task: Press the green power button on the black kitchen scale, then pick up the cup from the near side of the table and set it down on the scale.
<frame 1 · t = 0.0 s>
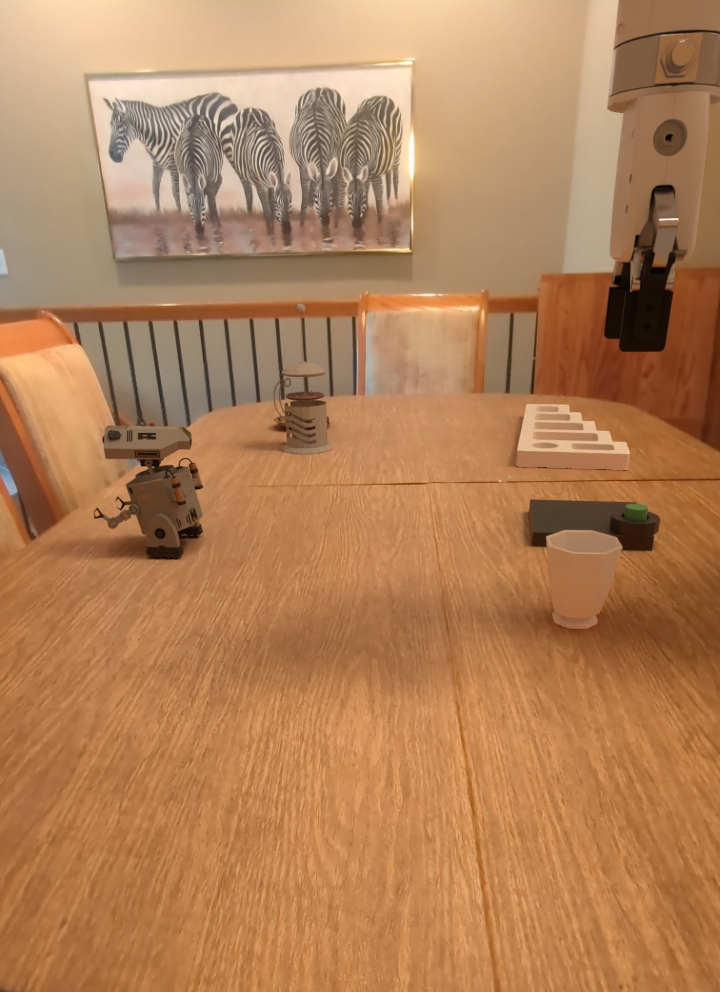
hand: (631, 344, 60), 25 cm above the table, tool pointing down, fingers open, 9 cm apart
cup: (578, 615, 75), on the table
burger: (302, 428, 161), on the table
scale: (585, 530, 97), on the table
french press: (303, 448, 143), on the table
scale button: (635, 512, 90), point 4 cm above the table, slide at 0.1 cm
holder: (569, 440, 144), on the table
figurine: (160, 548, 95), on the table
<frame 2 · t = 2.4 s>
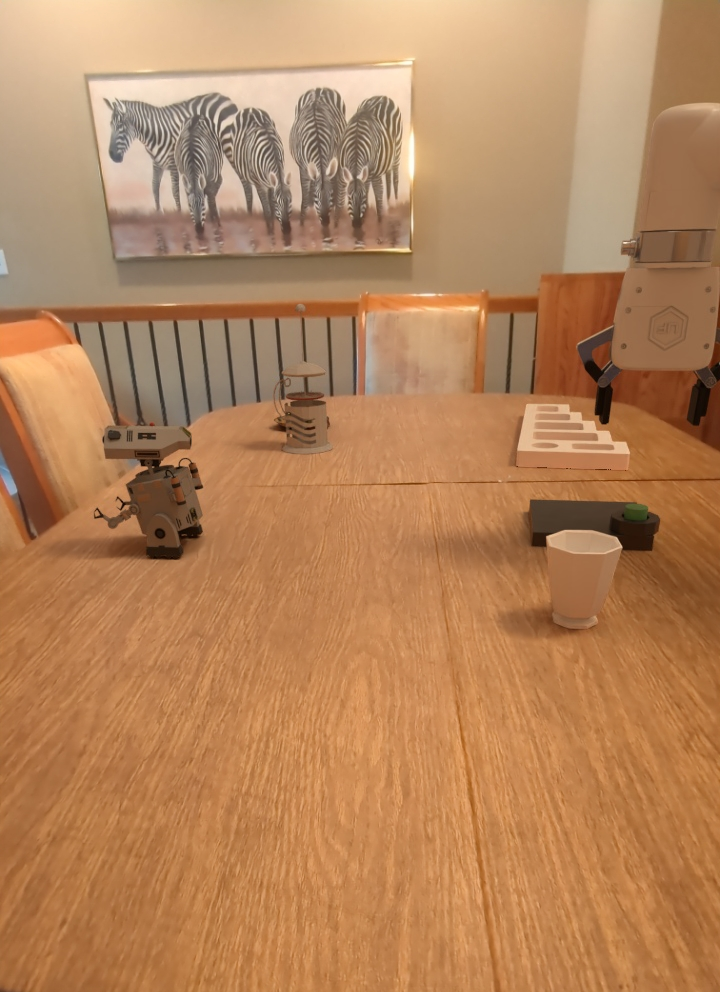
hand: (647, 422, 85), 15 cm above the table, tool pointing down, fingers open, 9 cm apart
nothing on the table moved.
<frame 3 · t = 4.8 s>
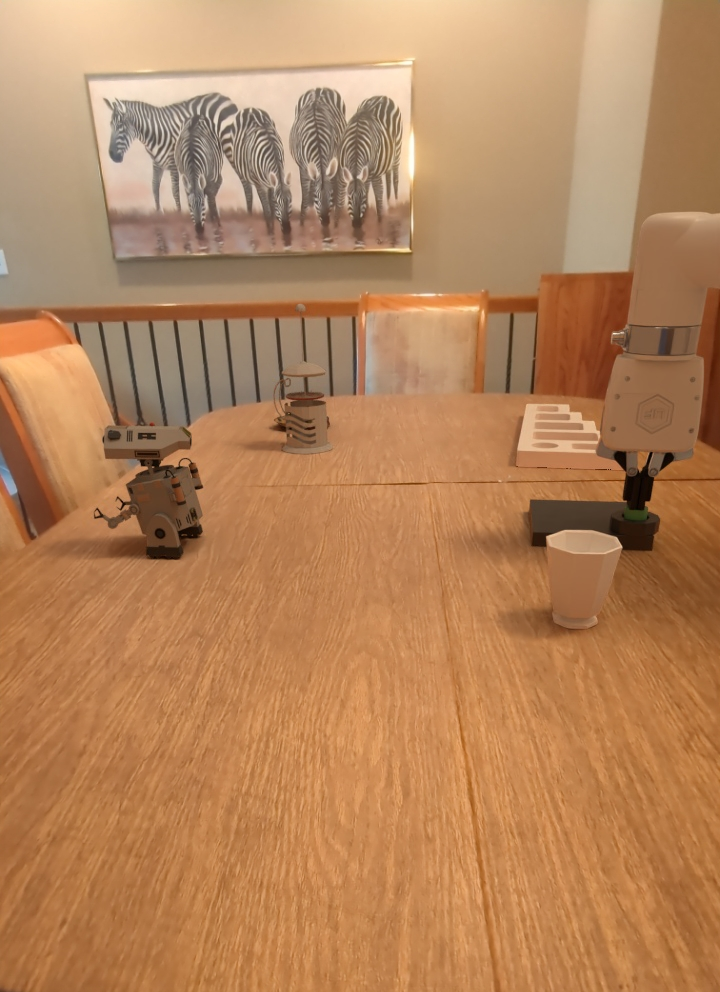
hand: (635, 506, 90), 5 cm above the table, tool pointing down, fingers closed
scale button: (635, 513, 90), point 4 cm above the table, slide at 0.1 cm, touching gripper
everything else where it was.
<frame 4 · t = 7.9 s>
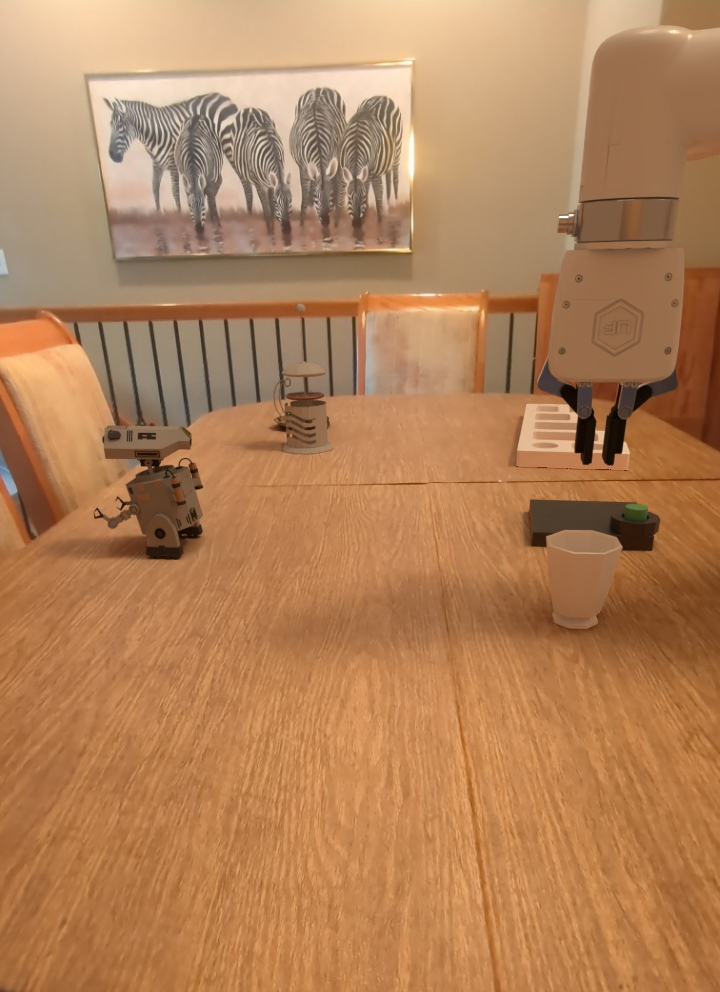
hand: (596, 460, 68), 15 cm above the table, tool pointing down, fingers closed
scale button: (635, 513, 90), point 4 cm above the table, slide at 0.1 cm
everything else where it was.
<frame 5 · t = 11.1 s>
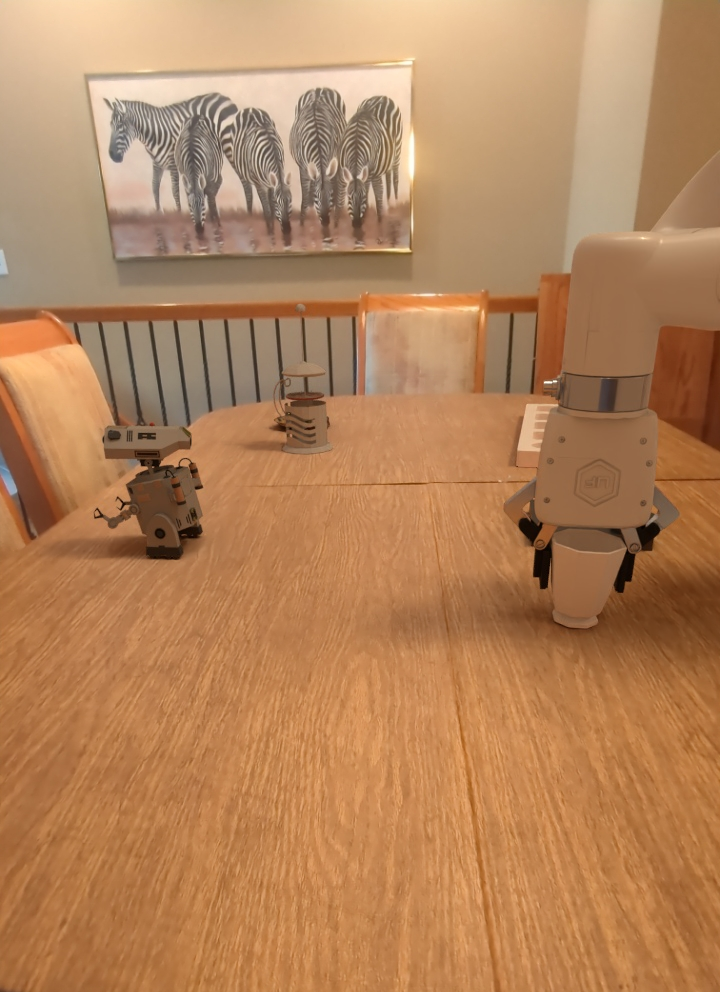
hand: (580, 584, 73), 3 cm above the table, tool pointing down, fingers closed on cup, 6 cm apart
cup: (577, 615, 75), on the table, touching gripper
everything else where it was.
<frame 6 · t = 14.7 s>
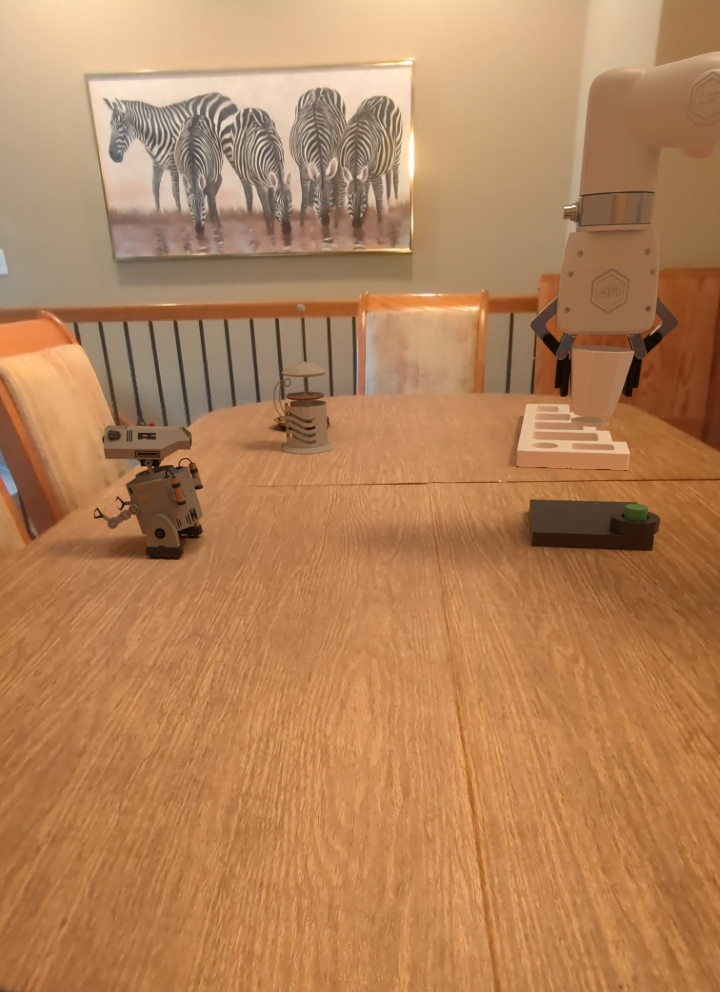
hand: (594, 393, 86), 17 cm above the table, tool pointing down, fingers closed on cup, 6 cm apart
cup: (592, 422, 88), point 14 cm above the table, touching gripper
everything else where it was.
when the fingers open (5 cm above the table, at t = 18.7 s): cup stays where it is, resting on scale.
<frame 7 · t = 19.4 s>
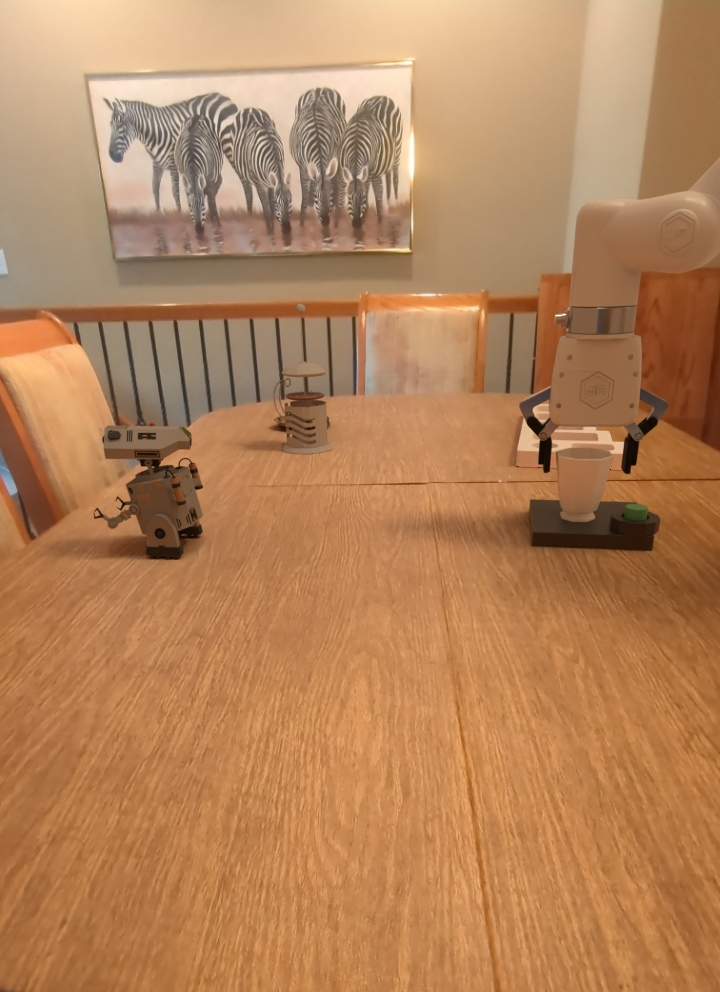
hand: (585, 470, 94), 7 cm above the table, tool pointing down, fingers open, 9 cm apart
cup: (580, 515, 97), point 2 cm above the table, touching scale
everything else where it was.
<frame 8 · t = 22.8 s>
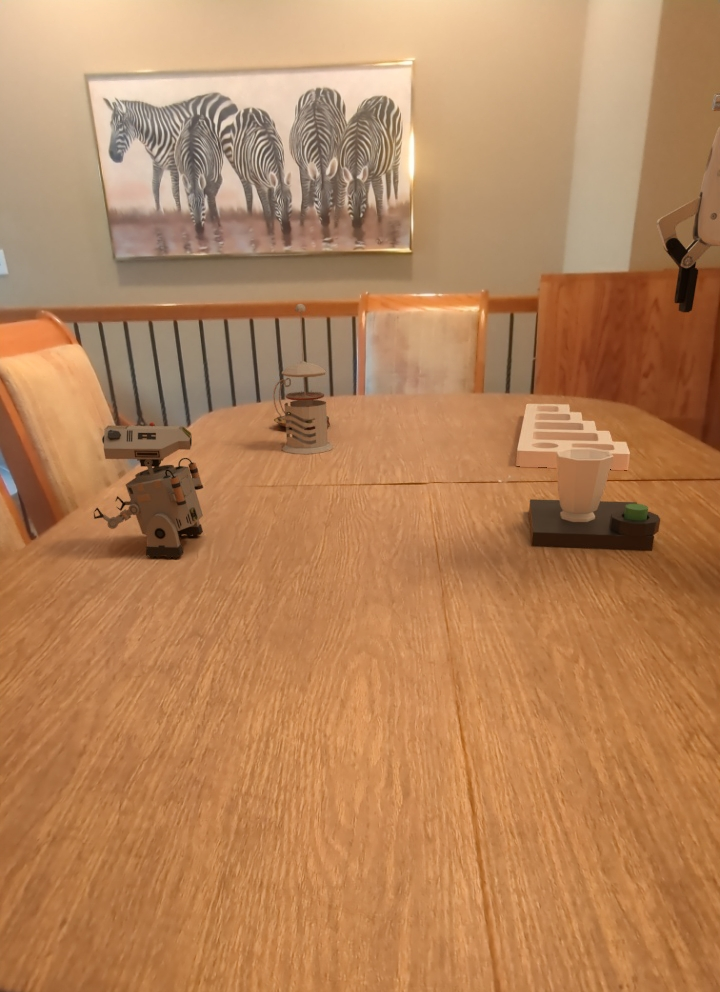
nothing on the table moved.
at the end: scale button pushed in 0.9 cm at the most during the clip, back to where it started at the end; cup inside the target area on the scale (1.3 cm from its centre), point 1.7 cm above the scale's base; cup tilted 0° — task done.
